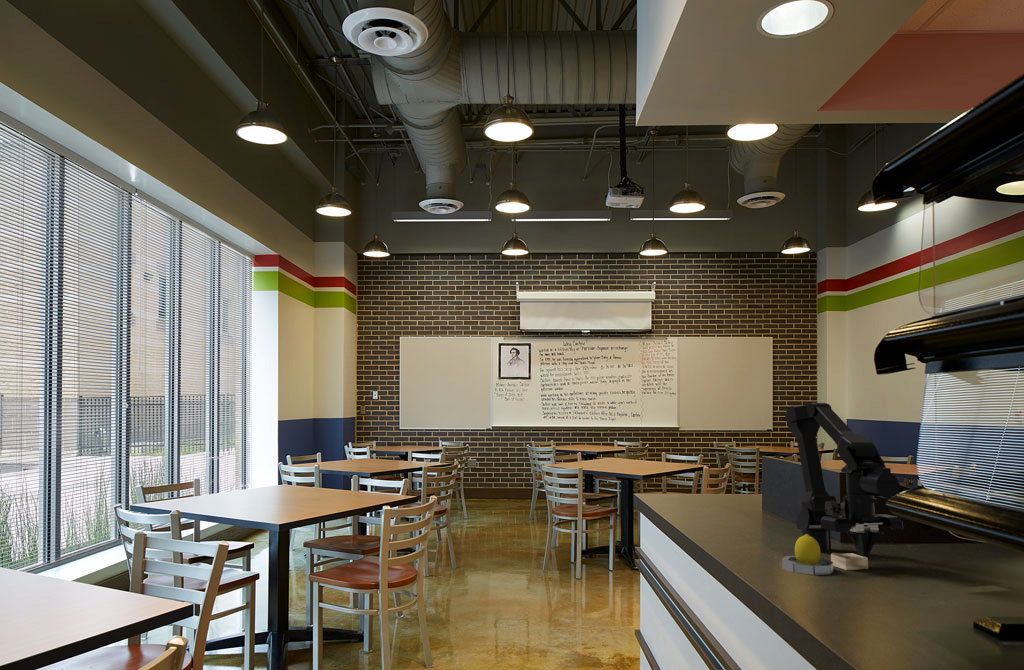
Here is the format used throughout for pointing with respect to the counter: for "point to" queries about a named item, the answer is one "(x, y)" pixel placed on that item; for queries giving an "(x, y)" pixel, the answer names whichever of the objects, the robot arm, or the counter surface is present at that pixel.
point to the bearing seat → (807, 566)
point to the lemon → (807, 550)
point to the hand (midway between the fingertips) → (863, 560)
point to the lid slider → (849, 561)
